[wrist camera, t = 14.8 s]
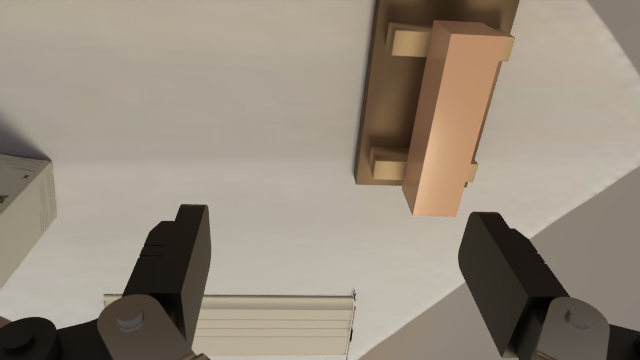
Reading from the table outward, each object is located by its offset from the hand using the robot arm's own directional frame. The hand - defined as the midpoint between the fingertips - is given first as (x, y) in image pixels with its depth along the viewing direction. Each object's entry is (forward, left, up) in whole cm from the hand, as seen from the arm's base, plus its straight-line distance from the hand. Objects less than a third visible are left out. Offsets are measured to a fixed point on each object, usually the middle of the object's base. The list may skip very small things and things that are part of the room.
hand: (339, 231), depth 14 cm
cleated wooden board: (+12, -6, -30) cm, 33 cm away
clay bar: (+12, -6, -26) cm, 29 cm away
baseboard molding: (-8, -38, -31) cm, 50 cm away
